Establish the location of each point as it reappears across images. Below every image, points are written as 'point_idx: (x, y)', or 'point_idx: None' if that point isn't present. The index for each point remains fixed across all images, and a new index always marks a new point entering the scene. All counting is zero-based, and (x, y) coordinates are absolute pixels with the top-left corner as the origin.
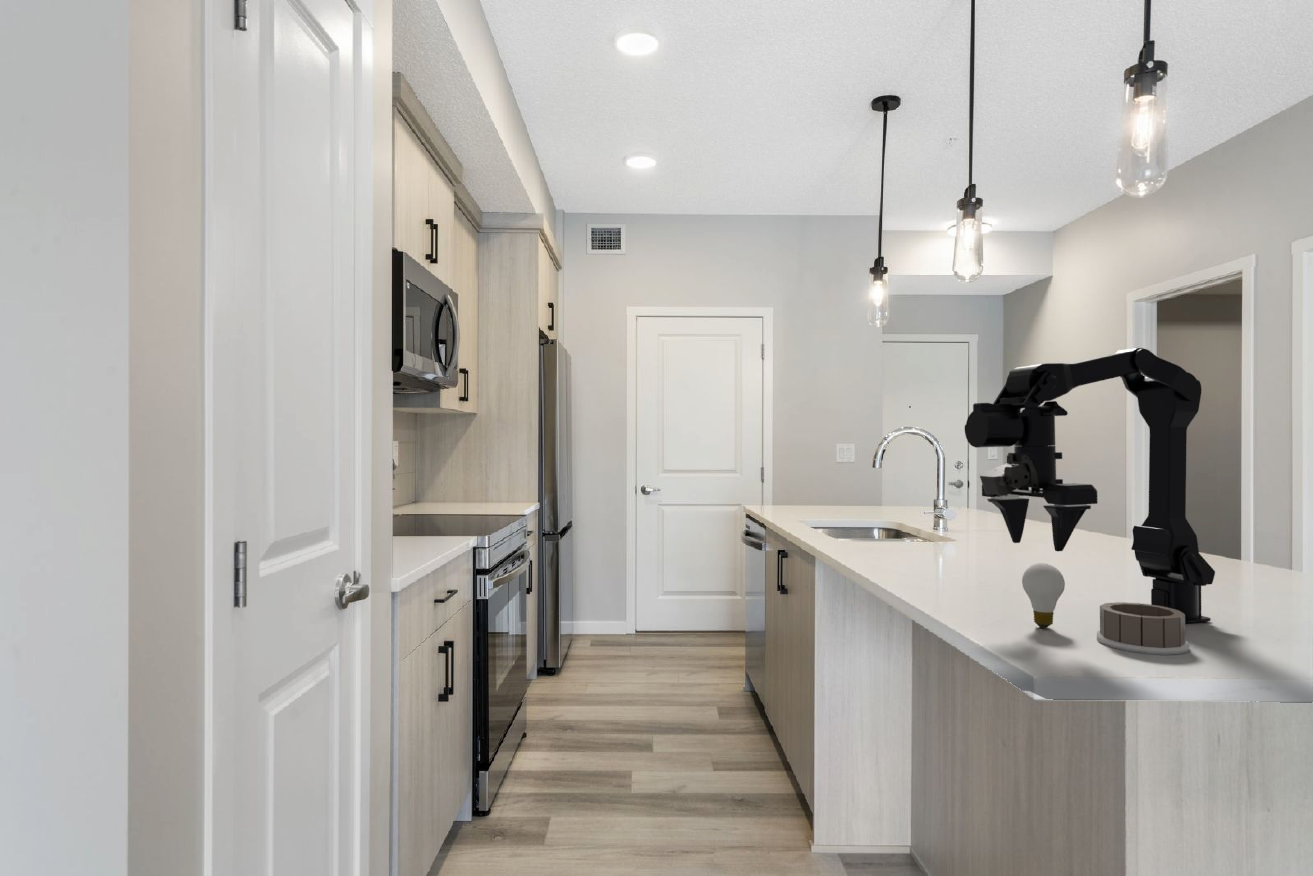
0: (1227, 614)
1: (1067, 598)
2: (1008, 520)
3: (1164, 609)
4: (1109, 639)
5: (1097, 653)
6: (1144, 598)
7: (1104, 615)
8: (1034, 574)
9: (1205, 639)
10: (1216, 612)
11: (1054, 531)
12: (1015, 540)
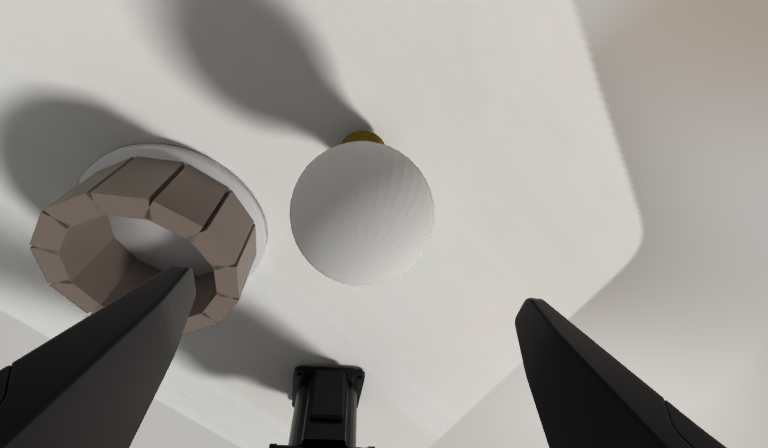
0: None
1: (514, 363)
2: (639, 414)
3: None
4: (169, 160)
5: (97, 56)
6: (443, 429)
7: (161, 193)
8: (343, 177)
9: (199, 331)
10: None
11: (62, 354)
12: (530, 311)
